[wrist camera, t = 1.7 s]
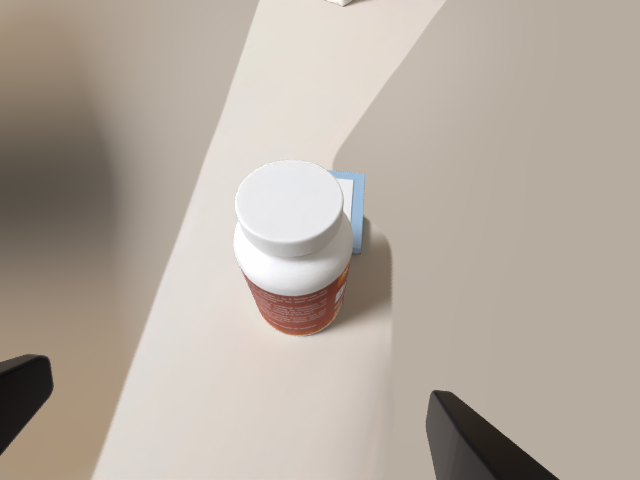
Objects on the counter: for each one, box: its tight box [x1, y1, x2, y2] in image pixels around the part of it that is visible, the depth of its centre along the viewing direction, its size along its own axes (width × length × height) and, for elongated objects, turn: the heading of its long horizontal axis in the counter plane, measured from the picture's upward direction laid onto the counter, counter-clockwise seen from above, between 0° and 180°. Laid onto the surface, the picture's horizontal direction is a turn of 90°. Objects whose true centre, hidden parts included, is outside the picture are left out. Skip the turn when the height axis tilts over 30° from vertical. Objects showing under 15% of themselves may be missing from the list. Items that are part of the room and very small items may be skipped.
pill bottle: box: [234, 160, 353, 336], centre depth 18 cm, size 6×6×11 cm
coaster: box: [327, 170, 365, 254], centre depth 26 cm, size 8×8×1 cm
